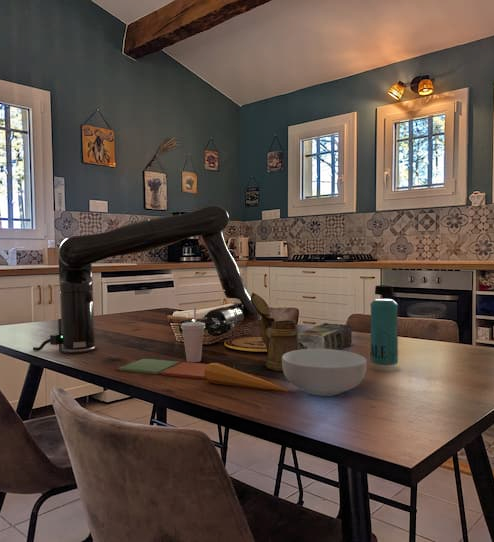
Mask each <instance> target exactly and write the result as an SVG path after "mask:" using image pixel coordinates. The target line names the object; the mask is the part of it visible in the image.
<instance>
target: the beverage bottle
mask: <svg viewBox="0 0 494 542" xmlns="http://www.w3.org/2000/svg"><path fill="white" fill-rule="evenodd" d="M374 295H378V296H391V295H394V291H393V285H388V284H379V285H375V287H374ZM398 308H399V304H398V303H397V302H396V301H395V300H394V299H392V298H376V299H374V300H372V301H371V302H370V318H369V326H370V327H369V328H370V335H369V336H370V339H369V341H370V351H369V356H370V357H369V359H370V362H371V363H372V364H374V365H376V366H377V365H378V366H395V365H397V364H398V361H399V335H398Z"/></svg>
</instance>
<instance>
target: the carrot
mask: <svg viewBox="0 0 494 542" xmlns="http://www.w3.org/2000/svg"><path fill="white" fill-rule="evenodd" d="M207 364H208V365H207V367H206V369H205V372H204V374H205V376H204V377H205V378H204V379H205V380H206V381H207V382H209V383H210V384H215V385H224V386H232V387H241V388H248V389H249V388H250V389H256V390H257V389H258V390H264V391H265V390H267V391H279V392H290V390H289V389H286V388H284V387H281V386H279V385H277V384H276V383H275V384H274V383H272V382H270V381H267V380H265V379H263V378H260V377H258V376H255V375H251V374H250V373H249V374H248V373H246V372H244V371H240V370H239V369H235V368H233V367H230V366H227V365H224V364H222V363H220V362H219V363H218V362H211V363H207Z"/></svg>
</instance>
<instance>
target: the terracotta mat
mask: <svg viewBox="0 0 494 542" xmlns="http://www.w3.org/2000/svg"><path fill="white" fill-rule="evenodd" d="M208 364H209V363H199V362H187V361H182V362H180V364H178V365H176V366H174V367H171V368H169V369H167V370H165V371H162V372H161V373H160V375H161V376H172V377H179V378H187V379H188V378H191V379H200V380H203V379H206V378H205V377H204V376H205V374H204V372H205V369H206V367H207V365H208Z"/></svg>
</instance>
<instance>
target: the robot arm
mask: <svg viewBox="0 0 494 542" xmlns="http://www.w3.org/2000/svg"><path fill="white" fill-rule="evenodd" d="M229 222H230V216H229V213H228V211H227V210H226V209H225V208H224V207H223V206H220V205H218V204H209V205H206V206H204V207H202V208H198V209H195V210H193V211H190V212H187V213H183V214H182V213H181V214H175V215H165V216H159V217H158V216H157V217H154V218H147V219H143V220H138V221H134V222H131V223H129V224H125V225H122V226H119V227H117V228H114V229H111V230H108V231H105V232H99V233H93V234H84V235H72V236H71V235H70V236H69V237H65V238H64V240H62V241H61V243H60V244H59V246H58V251H57V253H58V255H57V258H58V282H59V283H58V284H59V307H60V309H59V310H60V317H58V319H57V326H58V327H57V331H58V333H54V334H53V333H52V334H50V335H49V338H48V339H46V340H44V341H43V342H42V343H41V344H40V345H39V346H38V347H35V346H33V347H32V351H35V352H38V351H39V352H40V351H41V350H43V349H44V347H45V346H46V345H47V344H50V345H53V346H57V345H58V351H59V352H62V353H64V354H83V353H89V352H93V351H95V350H96V344H95V343H96V341H95V309H94V307H95V306H94V281H93V270H92V269H93V267H92V266H93V265H92V264H94V263H98V262H100V261H102V260H106V259H110V258H113V257H120V256H121V257H122V256H129V255H135V254H136V255H137V254H140V253H145V252H149V251H154V250H158V249H161V248H164V247H168V246H170V245H173V244H175V243H178V242H180V241H183V240H186V239H190V238H193V237H201V239H202V241H203V243H204V245H205V247H206V249H207V251H208V253H209V255H210V258H211V260H212V263H213V265H214V269H215V271H216V274H217V277H218V280H219V283H220V286H221V288H222V291H223V295H224V296H225V298H227V299H237V300H238V301H240V302H239V303H235V304H231V305H228V306H221V307H217V308H214V309H211V310H208V311H207V312H206V313H205V314H204V316H202V317H200V318H196V322H202V323H205V328H204V333H207V334H208V335H210V336H212V337H219V336H222V335H224V334H228V333H230V332H232V331H234V330H235V329H237V328H239V327H240V326H243V325H248V324H252V323H255V322H257V321H258V320H259V319H260V315H259V314H258V313H257V312H256V310H255V309H254V307H253V305H252V303H251V294H250V293H249V291H248V289H247V288H246V285H245V282H244V280H243V276H242V274H241V271H240V268H239V266H238V265H237V262H236V261H235V259H234V257H233V256H232V254H231V252H230V250H229V249H228V247H227V244H226V241H225V238H224V233H223V232H224V231H225V229H227V227H228V224H229ZM188 322H194V317H190V318H188V319H184V320H183V319H182V320H180V324H179V325H178V328H179V330H178V331H179V332H180V333H181V334H183V330H182V328H181V324H183V323H188Z"/></svg>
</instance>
